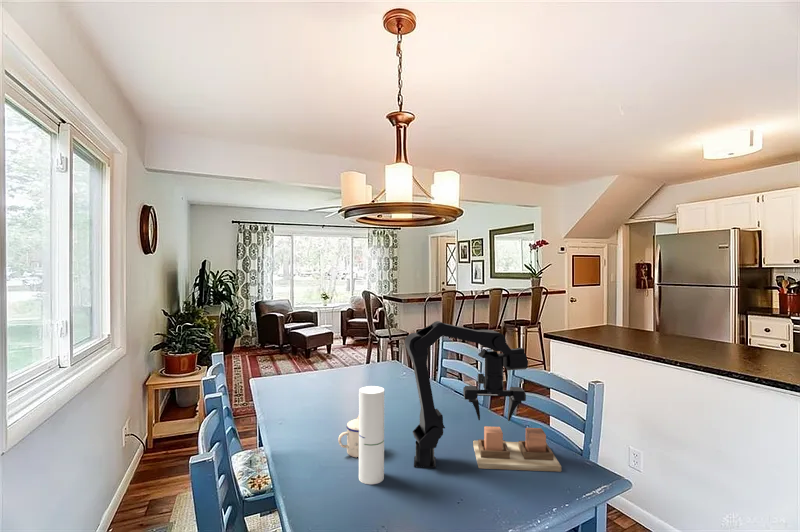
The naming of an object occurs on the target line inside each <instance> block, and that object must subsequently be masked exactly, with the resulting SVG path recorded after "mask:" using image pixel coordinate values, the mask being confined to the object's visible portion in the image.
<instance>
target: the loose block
mask: <svg viewBox="0 0 800 532" xmlns="http://www.w3.org/2000/svg"><path fill="white" fill-rule="evenodd" d="M483 427H484V428H483V440H484V449H485V450H495V451H503V440H504V437H503V435H504V434H503V433H504V432H503V430H502V428H501V426H483Z"/></svg>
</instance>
